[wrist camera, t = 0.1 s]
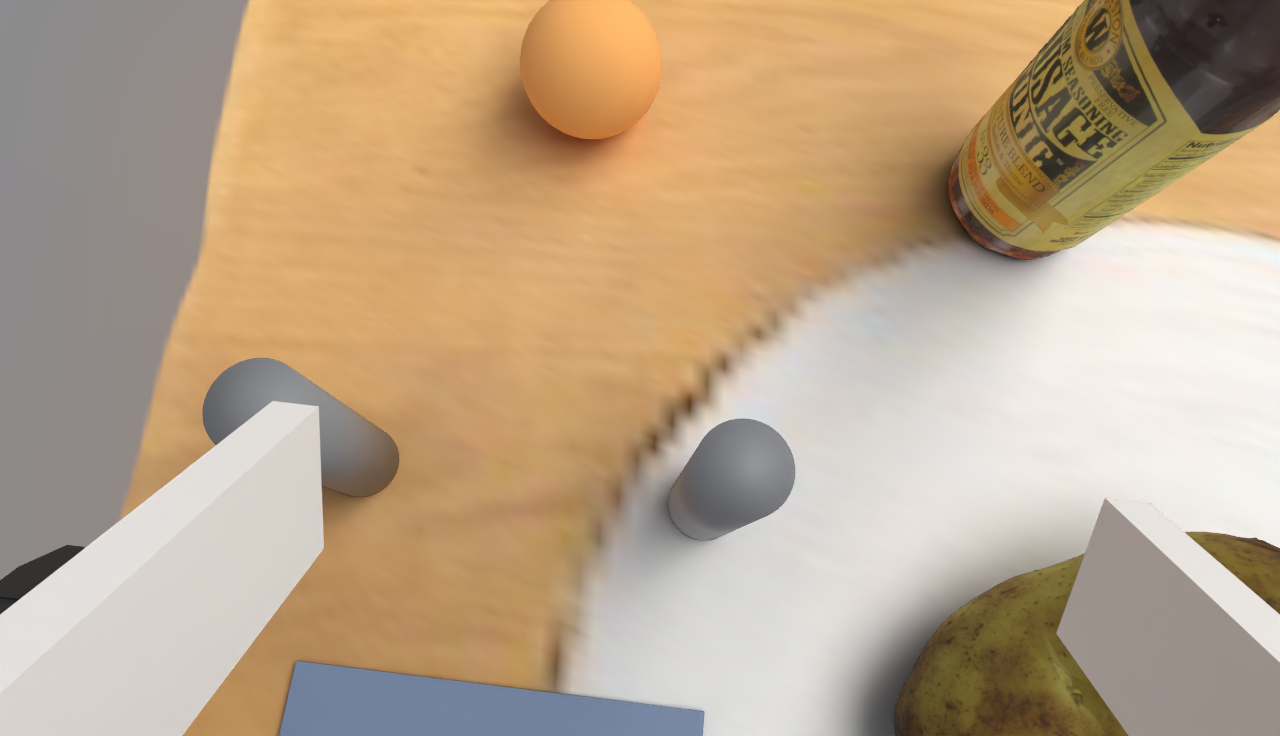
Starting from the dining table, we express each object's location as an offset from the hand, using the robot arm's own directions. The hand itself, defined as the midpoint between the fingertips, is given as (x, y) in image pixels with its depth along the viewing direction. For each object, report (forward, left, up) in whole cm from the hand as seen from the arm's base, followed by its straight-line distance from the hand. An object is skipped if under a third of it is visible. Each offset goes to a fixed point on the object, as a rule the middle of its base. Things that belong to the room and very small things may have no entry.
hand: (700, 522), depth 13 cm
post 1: (+2, +11, -15) cm, 19 cm away
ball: (+18, +5, -13) cm, 22 cm away
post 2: (+2, -2, -15) cm, 16 cm away
